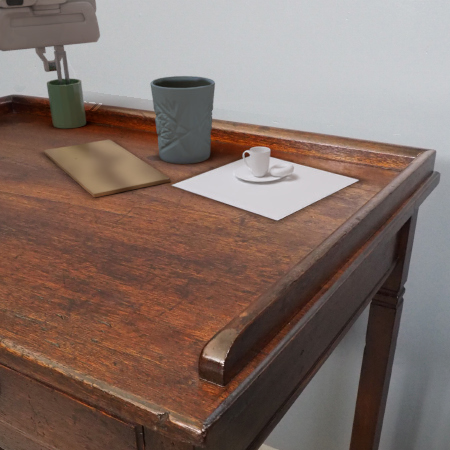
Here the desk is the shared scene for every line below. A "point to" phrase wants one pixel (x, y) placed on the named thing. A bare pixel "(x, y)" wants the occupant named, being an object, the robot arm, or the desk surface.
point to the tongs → (63, 66)
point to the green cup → (66, 103)
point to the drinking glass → (183, 117)
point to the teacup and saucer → (266, 184)
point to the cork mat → (105, 167)
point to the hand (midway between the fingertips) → (53, 70)
